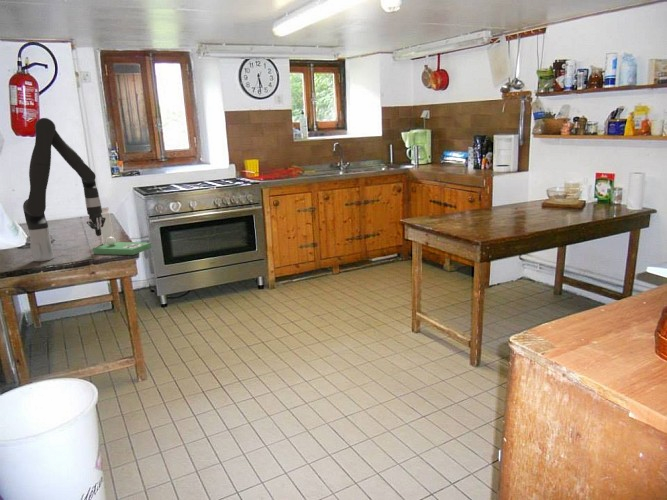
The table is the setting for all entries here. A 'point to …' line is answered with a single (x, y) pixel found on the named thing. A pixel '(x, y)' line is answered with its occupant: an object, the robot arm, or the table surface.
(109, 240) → the ball
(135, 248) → the green
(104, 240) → the milk
